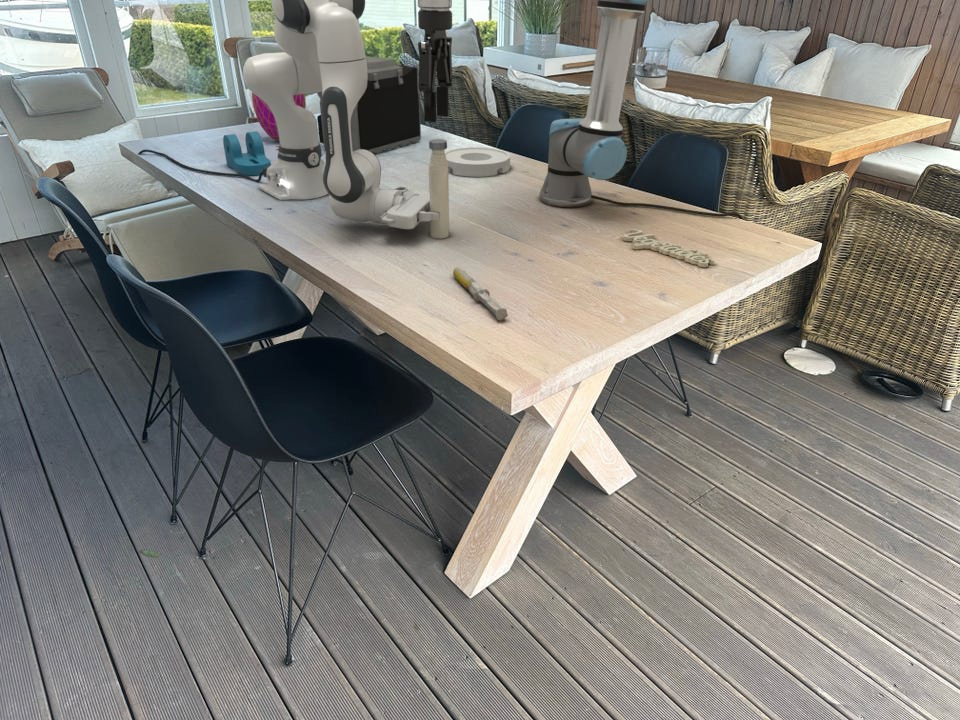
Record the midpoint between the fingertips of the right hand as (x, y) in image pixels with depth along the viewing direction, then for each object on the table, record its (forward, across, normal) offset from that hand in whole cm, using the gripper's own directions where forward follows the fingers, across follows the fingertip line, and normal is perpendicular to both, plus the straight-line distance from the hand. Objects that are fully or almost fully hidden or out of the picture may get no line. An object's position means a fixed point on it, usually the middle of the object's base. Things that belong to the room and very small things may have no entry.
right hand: (436, 118), depth 162 cm
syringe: (+29, -31, -23) cm, 48 cm away
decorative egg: (+29, +73, +97) cm, 125 cm away
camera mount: (+29, +34, +83) cm, 94 cm away
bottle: (+29, 0, 0) cm, 29 cm away
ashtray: (+29, +65, +14) cm, 72 cm away
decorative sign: (+29, +11, -56) cm, 64 cm away
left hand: (+23, 0, -1) cm, 23 cm away
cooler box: (+29, +78, +62) cm, 103 cm away
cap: (+5, 0, 0) cm, 5 cm away
